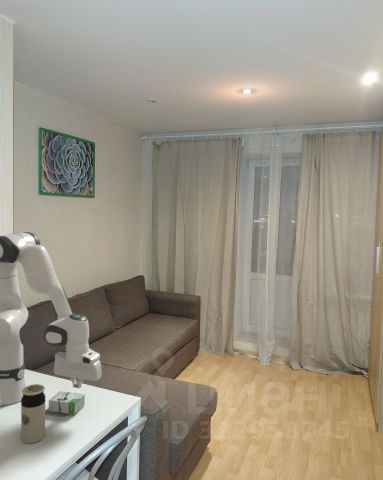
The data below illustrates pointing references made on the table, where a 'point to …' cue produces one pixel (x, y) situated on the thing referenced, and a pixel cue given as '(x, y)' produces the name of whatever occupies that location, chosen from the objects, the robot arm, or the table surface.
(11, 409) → the table surface
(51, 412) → the mat
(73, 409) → the ink box
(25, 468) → the table surface
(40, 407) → the travel mug
